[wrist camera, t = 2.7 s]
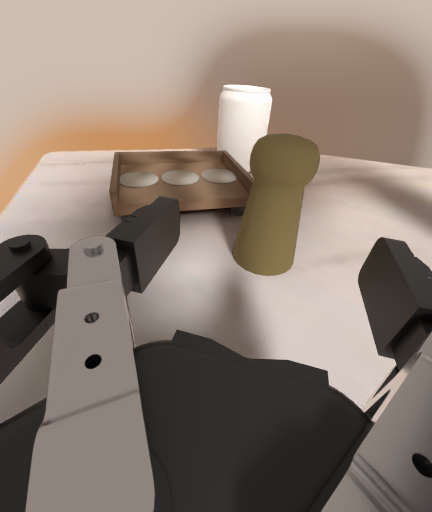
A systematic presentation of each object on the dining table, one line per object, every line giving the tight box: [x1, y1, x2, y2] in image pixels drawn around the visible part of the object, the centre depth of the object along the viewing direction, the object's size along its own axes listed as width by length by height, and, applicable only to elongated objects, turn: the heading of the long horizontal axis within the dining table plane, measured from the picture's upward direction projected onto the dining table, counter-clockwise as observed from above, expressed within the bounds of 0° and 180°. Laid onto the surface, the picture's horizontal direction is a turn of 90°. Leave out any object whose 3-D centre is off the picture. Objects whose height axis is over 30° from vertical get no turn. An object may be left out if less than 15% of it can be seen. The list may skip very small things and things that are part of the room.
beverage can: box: [217, 85, 272, 173], centre depth 41 cm, size 8×8×12 cm
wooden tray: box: [109, 150, 254, 221], centre depth 33 cm, size 16×13×4 cm
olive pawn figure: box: [233, 134, 320, 276], centre depth 22 cm, size 6×6×11 cm
